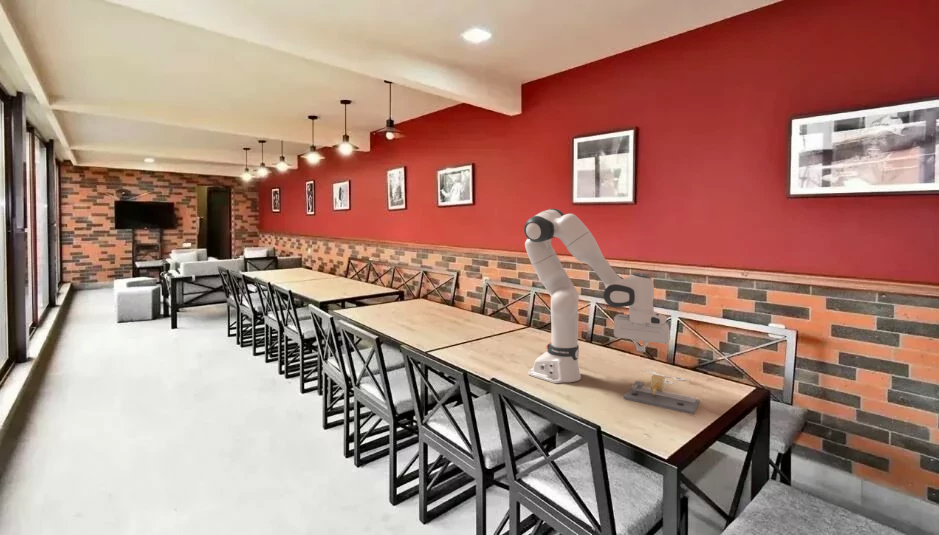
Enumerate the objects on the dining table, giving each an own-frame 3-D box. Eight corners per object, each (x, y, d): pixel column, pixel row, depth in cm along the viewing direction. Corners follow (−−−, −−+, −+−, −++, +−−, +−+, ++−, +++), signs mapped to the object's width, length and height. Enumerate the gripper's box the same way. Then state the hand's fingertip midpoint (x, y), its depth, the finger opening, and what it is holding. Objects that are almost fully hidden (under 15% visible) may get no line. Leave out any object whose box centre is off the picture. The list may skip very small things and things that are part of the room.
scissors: (672, 385, 181) (633, 370, 199) (672, 387, 182) (633, 371, 199) (690, 380, 186) (650, 366, 204) (690, 382, 186) (650, 367, 204)
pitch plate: (623, 398, 170) (623, 388, 169) (632, 388, 179) (633, 378, 179) (693, 414, 156) (694, 403, 155) (699, 402, 165) (699, 392, 165)
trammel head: (648, 395, 168) (648, 380, 167) (653, 389, 173) (653, 374, 173) (659, 398, 165) (660, 382, 164) (664, 391, 171) (664, 376, 170)
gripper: (611, 315, 175) (611, 349, 176) (667, 320, 163) (666, 357, 165) (616, 311, 180) (616, 345, 182) (671, 317, 168) (670, 353, 170)
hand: (640, 351), depth 173 cm, fingers closed
